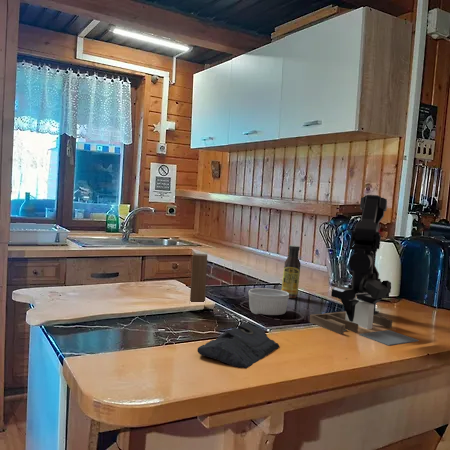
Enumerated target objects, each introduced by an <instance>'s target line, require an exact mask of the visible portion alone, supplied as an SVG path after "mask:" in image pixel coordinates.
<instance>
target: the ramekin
mask: <svg viewBox="0 0 450 450" xmlns="http://www.w3.org/2000/svg"><path fill="white" fill-rule="evenodd" d="M289 299H290V298H289V293H288V292H285V291H282V289H275V288H268V287H267V288H263V287H262V288H258V287H257V288H251V289H249V290H248V301H249V302H248V305H249V310H250V311H251V313H252V314H254V315H259V314H260V315H264V316H265V315H266V316H279V315H284V314H285V313H286V312H287V307H288V303H289Z"/></svg>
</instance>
